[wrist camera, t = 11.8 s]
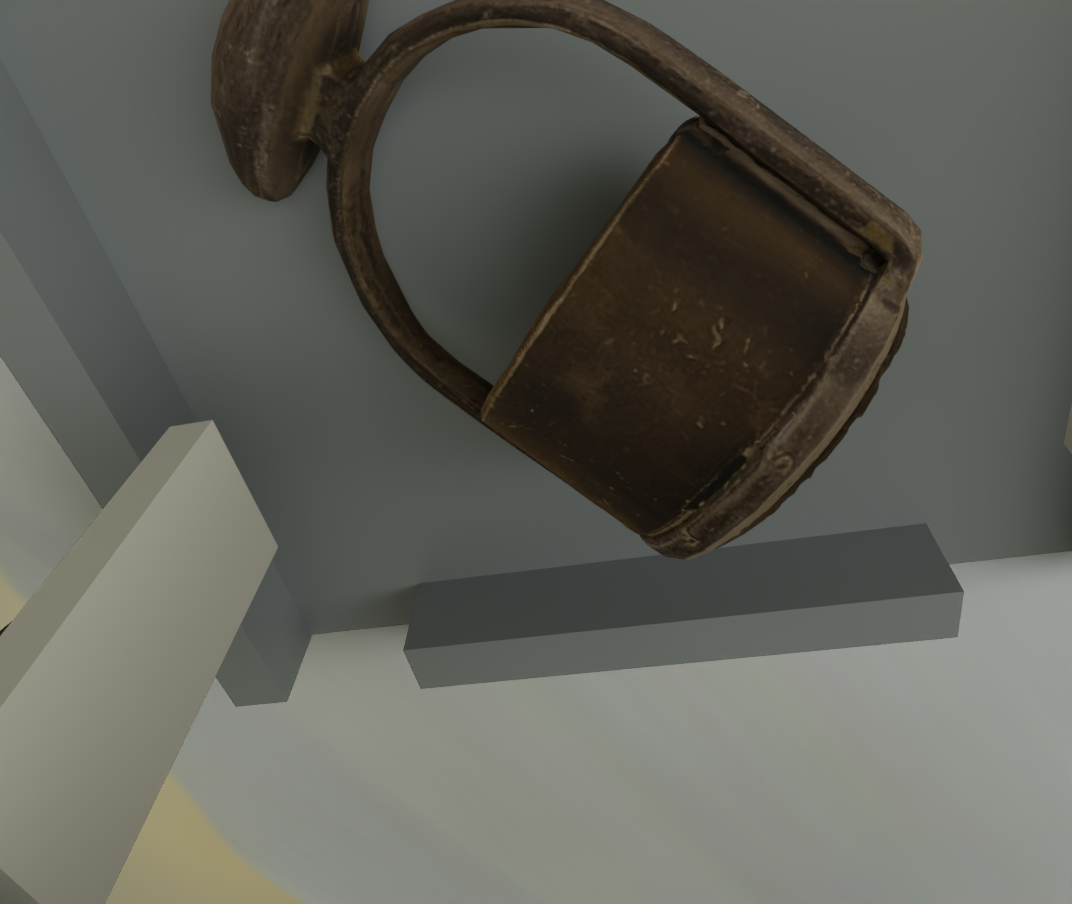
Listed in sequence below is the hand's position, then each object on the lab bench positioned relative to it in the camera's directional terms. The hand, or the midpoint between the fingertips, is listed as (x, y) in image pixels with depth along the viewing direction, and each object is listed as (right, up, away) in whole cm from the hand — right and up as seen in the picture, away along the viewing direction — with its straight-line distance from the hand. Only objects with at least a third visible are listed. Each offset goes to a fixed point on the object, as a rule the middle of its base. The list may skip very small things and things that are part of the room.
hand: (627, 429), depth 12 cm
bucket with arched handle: (-1, +5, +4) cm, 7 cm away
